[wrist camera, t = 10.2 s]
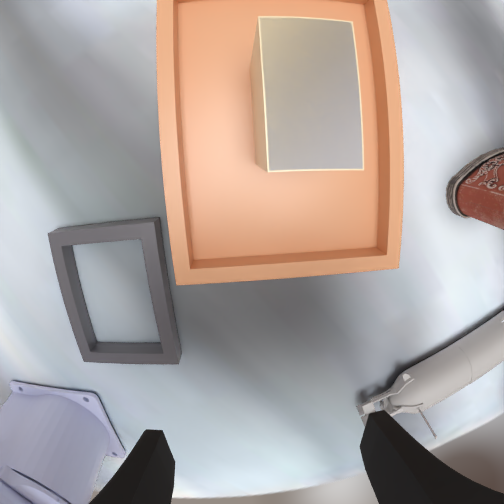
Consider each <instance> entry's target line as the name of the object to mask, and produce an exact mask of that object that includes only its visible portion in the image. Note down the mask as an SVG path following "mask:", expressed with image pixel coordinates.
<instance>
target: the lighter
mask: <svg viewBox="0 0 504 504" xmlns="http://www.w3.org/2000/svg"><path fill="white" fill-rule="evenodd" d="M446 199H447V204H448V206H449V208H450V210H451V211H452V212H453V213H454V214H456V215H459V216H461V217H464V218H470V217H472V218H475V219H478V220H480V221H483V222H485V223H488V224H490V225H493V226H495V227H498V228H500V229H503V230H504V148H500V149H495V150H492V151H490V152H487V153H485V154H483V155H480V156H479V157H477V158H476V159H474V160H473V161H471V162H470V163H469V164H467V165H466V166H465V167H463V168H462V169H461V170H460V171H459V172H458V173H457V174H456V175H454V176H453V177H452V178H451V180H450V181H449V182H448V185H447V188H446Z"/></svg>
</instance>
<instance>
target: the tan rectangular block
mask: <svg viewBox="0 0 504 504" xmlns="http://www.w3.org/2000/svg"><path fill="white" fill-rule="evenodd" d="M250 77H251V93H252V110H253V128H254V146H255V164H256V165H257V166H259V167H260V168H262V169H263V170H265V171H266V172H288V171H327V170H364V144H363V121H362V104H361V90H360V79H359V68H358V59H357V50H356V42H355V34H354V27H353V22H352V21H344V20H335V19H325V18H311V17H291V16H258V19H257V26H256V32H255V38H254V44H253V51H252V57H251V64H250Z"/></svg>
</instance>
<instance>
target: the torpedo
mask: <svg viewBox="0 0 504 504" xmlns="http://www.w3.org/2000/svg"><path fill="white" fill-rule="evenodd" d="M503 320H504V310H503V311H501V312H500V313H499V314H497V315H496V316H494V317H493V318H492V319H490V320H489V321H487V322H486V323H484V324H483V325H481V326H480V327H478V328H477V329H475V330H474V331H472V332H471V333H469V334H467V335H466V336H464V337H463V338H461V339H459V340H458V341H456V342H455V343H453V344H451V345H450V346H448V347H446V348H445V349H443V350H441V351H439V352H438V353H436V354H434V355H432V356H431V357H429V358H427V359H425V360H423V361H422V362H420V363H418V364H416V365H414V366H412V367H410V368H408V369H406V370H405V371H404V372H402V373H401V374H400V375H399V376H398V377H397V379H396V381H395V382H394V384H393V385H392V387H391V388H390V389H388V390H387V391H385V392H383V393H381V394H379V395H377V396H375V397H373V398H371V399H370V400H369V401H367V402H365V403H362V404H360V405H358V406H356V407H357V409H358V412H359V414H360V416H361V415H363V414H365V416H362V417H361V419H362V421H363V424H364V426H366V422H367V419H368V415H369V413H373V412H376V411H375V408H374V404H373V402H374V403H375V402H377V401H380V408H381V409H382V410H385V411H386V412H387V413H388V414H389V415H390V416H393V415H395V414H398V413H401V412H405V413H413V414H415V413H419V412H420V413H421V415H422V417H423V418H424V420H425V422H426V423H427V425H428V427H429V428H430V430H431V432H432V433H433V435H434V437H435V439H436V438H437V436H436V435H435V433H434V431H433V430H432V428H431V426H430V425H429V423H428V422H427V420H426V418H425V417H424V415H423V413H422V412H423V411H425V410H426V409H428V408H430V407H432V406H434V405H435V404H437V403H439V402H441V401H442V400H444V399H446V398H448V397H449V396H451V395H453V394H454V393H456V392H457V391H459V390H461V389H462V388H464V387H465V386H467V385H468V384H471V383H472V382H474V381H475V380H477V379H478V378H480V377H481V376H483V375H484V374H486V373H487V372H489V371H490V370H491V369H493V368H494V367H496V366H497V365H498V364H500V363H501V362H502V361H504V322H502V321H503ZM387 397H388V398H387ZM382 399H384V401H382Z"/></svg>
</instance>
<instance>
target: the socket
mask: <svg viewBox="0 0 504 504" xmlns="http://www.w3.org/2000/svg"><path fill="white" fill-rule="evenodd" d="M48 237H49V243H50V247H51V252H52V257H53V261H54V265H55V270H56V274H57V278H58V282H59V286H60V289H61V293H62V297H63V300H64V304H65V307H66V310H67V314H68V317H69V320H70V323H71V326H72V329H73V332H74V335H75V338H76V341H77V344H78V347H79V350H80V352H81V355H82V358H83V361H84V362H98V363H120V364H179V362H180V358H181V354H182V352H181V347H180V342H179V337H178V332H177V327H176V321H175V316H174V311H173V305H172V299H171V293H170V287H169V281H168V275H167V268H166V262H165V255H164V248H163V240H162V233H161V225H160V217H157V218H146V219H136V220H126V221H117V222H107V223H98V224H90V225H81V226H73V227H65V228H57V229H56V230H54V231H52V232H50V233H48ZM134 239H141V240H142V247H143V253H144V259H145V265H146V271H147V277H148V282H149V288H150V293H151V298H152V303H153V308H154V313H155V318H156V323H157V327H158V332H159V336H160V341H161V343H105V342H97V341H96V338H95V335H94V332H93V329H92V325H91V322H90V318H89V315H88V312H87V308H86V304H85V301H84V297H83V293H82V289H81V285H80V281H79V277H78V273H77V268H76V264H75V259H74V254H73V250H72V245H78V244H89V243H100V242H111V241H122V240H134Z"/></svg>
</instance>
